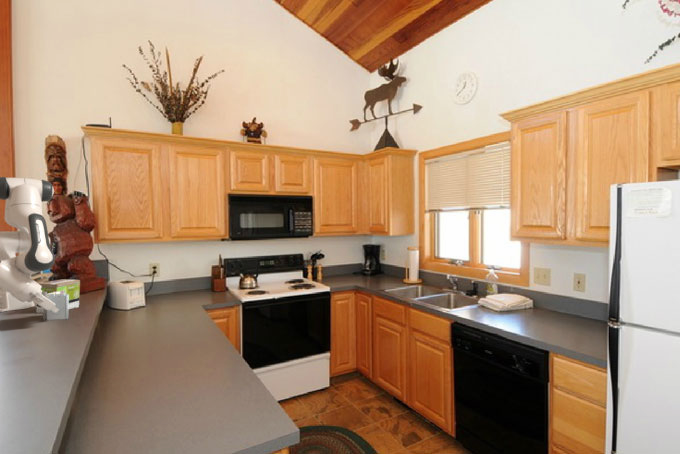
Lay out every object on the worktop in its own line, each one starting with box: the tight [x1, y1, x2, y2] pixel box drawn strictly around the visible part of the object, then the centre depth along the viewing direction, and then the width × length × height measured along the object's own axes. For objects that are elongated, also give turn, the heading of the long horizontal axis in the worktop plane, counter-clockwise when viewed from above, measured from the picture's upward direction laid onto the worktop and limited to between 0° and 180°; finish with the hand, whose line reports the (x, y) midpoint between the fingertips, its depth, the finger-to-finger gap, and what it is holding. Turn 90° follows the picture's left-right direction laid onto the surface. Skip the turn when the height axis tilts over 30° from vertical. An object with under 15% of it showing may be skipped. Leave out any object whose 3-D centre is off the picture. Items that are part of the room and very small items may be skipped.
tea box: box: [36, 278, 81, 314], centre depth 177 cm, size 15×10×15 cm, turn 179°
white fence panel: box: [42, 291, 60, 321], centre depth 162 cm, size 1×9×13 cm, turn 6°
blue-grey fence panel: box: [46, 294, 69, 321], centre depth 160 cm, size 8×1×11 cm, turn 109°
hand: (56, 310), depth 158 cm, fingers closed
